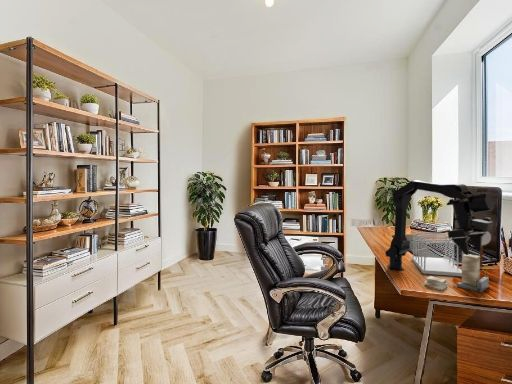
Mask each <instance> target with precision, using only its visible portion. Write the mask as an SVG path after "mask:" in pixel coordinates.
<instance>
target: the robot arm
mask: <svg viewBox="0 0 512 384" xmlns="http://www.w3.org/2000/svg"><path fill="white" fill-rule="evenodd" d="M417 191H424V192H431V193H437V194H440V195H443V196H444V197H447V198H450V199H449V200H448V201H447V203H446V206H452V208H453V211H454V216H455V217H453V221H454V222H455V221H456V224H457V227H456V228H455V229H453V230H449V231H448V232H447V236H448V237H449V238H451V239H450V240H453V241H454V243H456V244H457V245H458V249H460V250H461V252H462V251H463V252H464V254H465V255H469V254H470V251H469V244H468V241H469V240H470V242H471V244H472V245H473V247H474V248H475V250H476V252H480V251H481V243H482V237H483V236H484V235H485V234H486V233H482V232H488V231H492V227H493V226H494V221H492V218H491V217H484V218H483V219H479V218H477V216H476V215H474V214H473V213H482V212H483V213H485V212H491V211H493V210H494V209H495V203H494V200H493V199H492V198H491V196H489V193H488V192H486V193H485V192H484V193H480V194H477V195H475V194H474V192H471V191H470V190H469V188H468V187H467V185H466V184H464V183H452V184H451V183H449V184H443V183H441V184H440V183H436V182H429V181H421V180H419V179H417V180H416V179H415V180H410V181H409V182H407V184H405V185H403V186H401V187H399V188H398V189H395V190H394V191H393V192H392V194H391V195H392V203H393V204H394V206H395V214H394V215H395V217H394V234H393V237H392V238H391V242H390V246H389V248H388V249H387V250H386V251H385V252H384V253H385V256H386V257H388V258H389V259H388V260H389V263H388V264H387V268H388V269H389V270H392V271H396V270H397V271H404V270H405V268H404V267H403V264H402V263H403V257H404V256H406V254H407V252H409V250H410V249H411V247H410V243H411V241H410V240H408V239H407V236H406V232H407V230H406V228H407V209H408V207H409V205H410V203H411V200H412V196H414V194H416V192H417ZM472 212H473V213H472ZM456 244H455V245H456ZM457 245H456V246H457Z"/></svg>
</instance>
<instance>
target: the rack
mask: <svg viewBox="0 0 512 384" xmlns="http://www.w3.org/2000/svg"><path fill="white" fill-rule="evenodd" d="M489 282H490V280H489V277H488V276H483V277H482V278H479V281H477V286H473V285H468V284H464V283H462V282H460V281H459V282H458V281H457V282H456V287H458V288H461V289H462V288H463V289H465V290H469V289H470V291H474V292H477V293H483V292H484V291H485V290H487V289H488V288H489Z"/></svg>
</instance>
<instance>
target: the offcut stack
mask: <svg viewBox="0 0 512 384" xmlns="http://www.w3.org/2000/svg"><path fill="white" fill-rule="evenodd" d="M423 284H424V286H425V285H427V286H426V287H428V286H431V287H430V288H432V287H434V288H433V289H436V288H437V289H436V290H440V289H441V290H440V291H443V289H444V290H446V289H447V288H448V283H447V279H446V278H441V277H436V276H432V275H429V276H428V277H426V280H425V281H424V282H423ZM446 287H447V288H446Z"/></svg>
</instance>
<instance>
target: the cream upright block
mask: <svg viewBox="0 0 512 384" xmlns="http://www.w3.org/2000/svg"><path fill="white" fill-rule="evenodd" d="M461 270H462V276H461V283H464V284H468V285H473V286H477V281H479V280H480V275H481V274H480V271H481V270H480V256H479V255H478V254H477V255H475V254H471V253H469V255H465V254H464V255H462V254H461Z"/></svg>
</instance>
